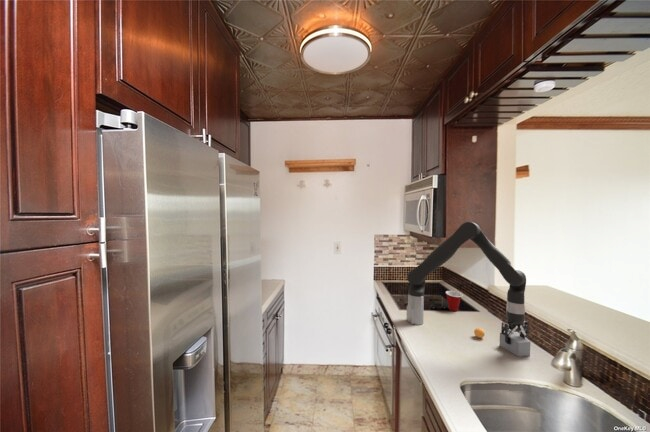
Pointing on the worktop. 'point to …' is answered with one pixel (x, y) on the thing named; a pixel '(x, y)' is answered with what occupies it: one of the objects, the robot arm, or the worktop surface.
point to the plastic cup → (453, 300)
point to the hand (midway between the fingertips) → (514, 342)
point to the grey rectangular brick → (516, 345)
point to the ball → (479, 333)
